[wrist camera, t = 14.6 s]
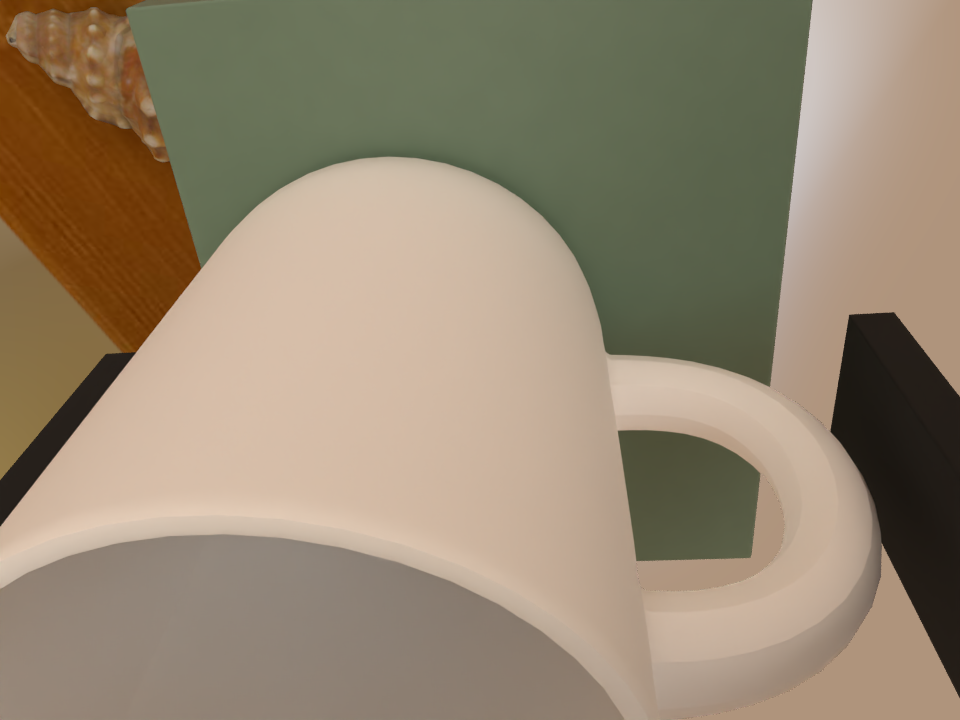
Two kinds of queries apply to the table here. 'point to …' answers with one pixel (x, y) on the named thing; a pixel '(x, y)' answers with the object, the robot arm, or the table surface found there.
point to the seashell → (93, 66)
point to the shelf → (534, 165)
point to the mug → (407, 491)
